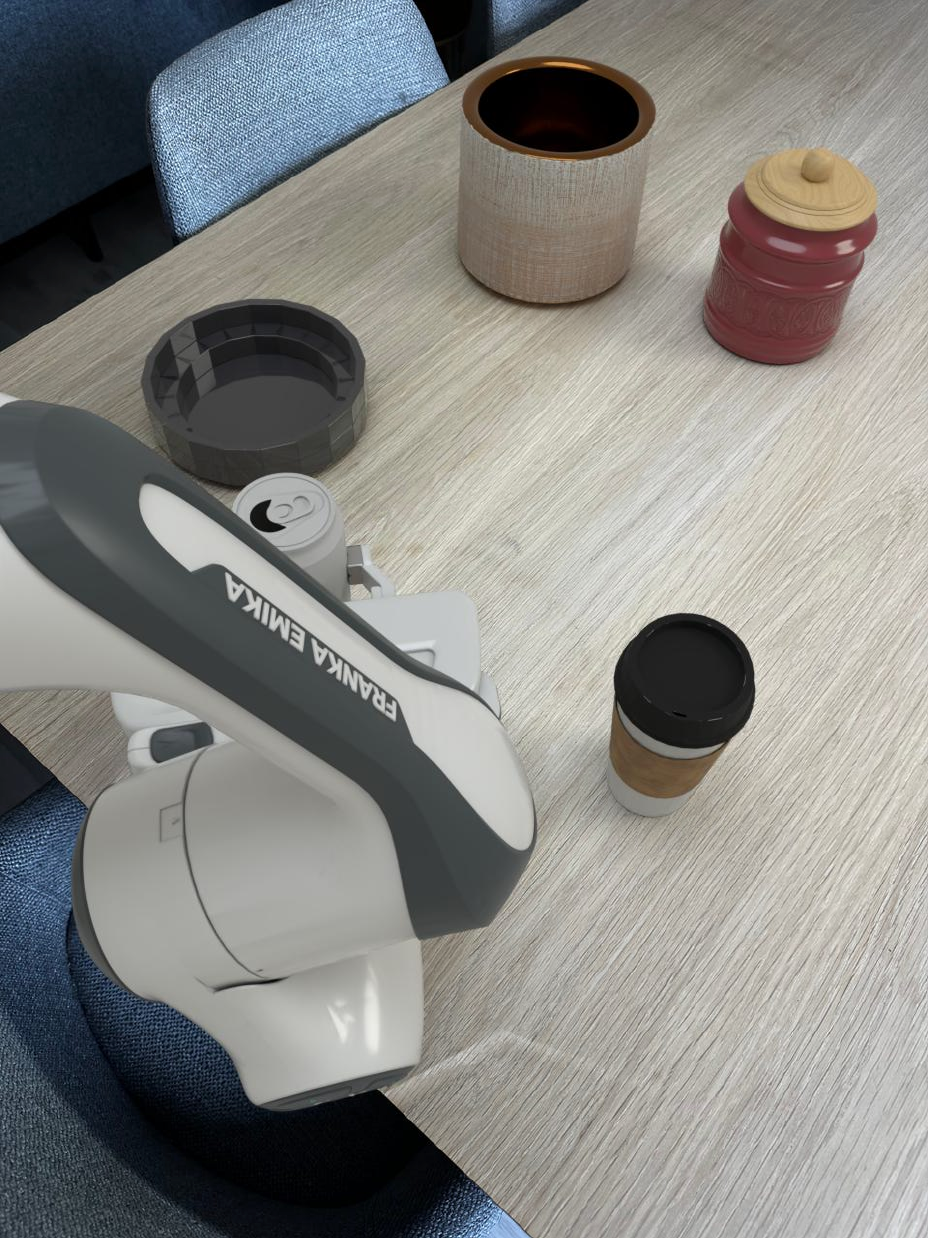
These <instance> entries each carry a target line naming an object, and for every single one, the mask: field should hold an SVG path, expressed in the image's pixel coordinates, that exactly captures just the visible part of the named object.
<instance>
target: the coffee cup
mask: <svg viewBox="0 0 928 1238" xmlns="http://www.w3.org/2000/svg"><path fill="white" fill-rule="evenodd" d="M755 675H756V674H755V667H754V662H753V659H752V656H751V653H750V651H749V649H748V648H747V646H746V644H745V642H744V641H743V640H742V639H741V637H739V635H738V634H737V633H736V632H735V631H734V630H732V629H731V628H729V627H728V626H727V625H725V624H724V623H722V622H720V621H719V620H717V619H715V618H712V617H710V616H708V615H707V616H706V615H704V614H698V613H695V612H694V613H693V612H676V613H670V614H669V613H668V614H666V615H664V616H661V617H657V618H655V619H654V620H651V622H648V624H646V625H645V626H644V627H643V628H642V629H641V630H640V631H639V632H638V633H637V634H636V635H635V636H634V637H633V638H632V639H631V640H630V641H629V642H628V643H627V645H625V647H624V649H623V650H622V652H621V654H620V655H619V657H618V659H617V662H616V664H615V667H614V672H613V676H612V677H613V678H612V679H613V691H614V693H613V694H614V695H613V703H612V713H611V724H610V735H609V746H608V749H609V752H608V758H607V764H606V781H607V785H608V788H609V790H610V793H611V794H612V796H613V797H614V799H615V800H616V802H618V803H619V804H620V805H621V806H622V807H624V808H625V809H627V810H628V811H630V812H632V813H634V814H636V815H639V816H643V817H647V818H648V817H649V818H659V817H666V816H668V815H671V814H673V813H675V812H676V811H678V810H679V809H680V808H681V807H682V806H683V805H685V804H686V802H687V800H688V799H689V797H690V796H691V795H692V794H693V792H694V790H695V789H696V787H697V786H698V785H699V784H700V783H701V781H702V780H703V778H704V777H705V776H706V774H707V773H708V772H709V771H710V769H711V768H712V766H713V765H714V764H715V762H716V761H717V760H718V758H719V757H720V756H721V754H723V752H724V751H725V750H726V748H727V746H728V745H729V744H730V742H731V741H732V740H733V738H734V737H736V736H737V735H738V734H739V733H740V732H741V731H742V730H743V729H744V728H745V726H746V724H747V723H748V722H749V720H750V718H751V716H752V713H753V710H754V707H755V703H756V689H757V688H756V682H755V677H756V676H755Z"/></svg>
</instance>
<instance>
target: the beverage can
mask: <svg viewBox="0 0 928 1238" xmlns="http://www.w3.org/2000/svg"><path fill="white" fill-rule="evenodd" d="M231 511H233V512H234V513H235V514H236V515H238V516H239V517H240V518H241V519H243V520H244V521H245V522H246V523H247V524H249V525H250V526H251V527H252V528H254V529H255V530H256V531H257V532H258V533H260V534H261V535H262V536H263V537H265V538H266V539H267V540H268V541H269V542H271V543H272V544H273V545H274V546H275V547H277V548H278V549H279V550H280V551H282V552H283V553H284V554H285V555H286V556H288V557H289V558H290V559H291V560H292V561H294V562H295V563H296V564H297V565H298V566H300V567H301V568H302V569H303V570H305V571H306V572H307V573H308V574H309V575H311V576H312V577H313V578H314V579H315V580H317V581H318V582H319V583H320V584H322V585H323V586H324V587H325V588H326V589H328V590H329V591H330V592H331V593H332V594H334V595H335V596H336V597H337V598H338V599H340V600H341V601H342V602H347V601H352V591H351V585H349V580H348V571H347V550H346V546H347V540H346V531H345V521H344V515H343V512H342V510H341V507H340V506H339V504H338V503H337V502H336V500H335V498H334V496H333V494H332V492H331V491H330V490H329V489H328V488H327V486H326V485H324V484H323V483H322V482H321V481H319V480H317V479H316V478H314V477H311V476H309V475H307V476H306V475H302V474H297V473H277V474H271V475H268V476H264V477H262V478H259V479H257V480H255V481H253V482H252V483H250V484H249V485H245V487H244V488H243V489H242V490H240V492H239V493H238V494H237V496H236V497H235V499H234V501H233V504H232V507H231Z"/></svg>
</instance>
